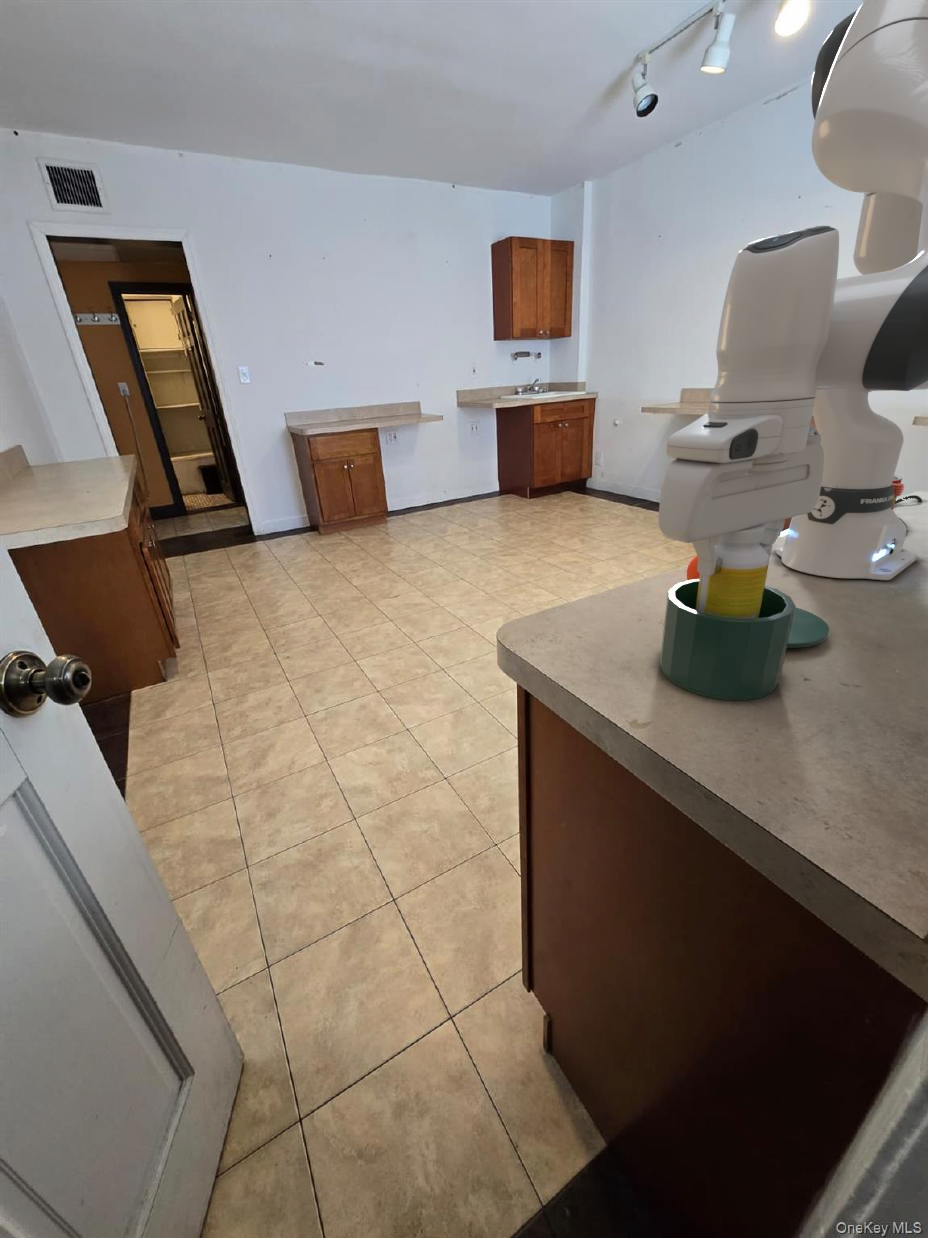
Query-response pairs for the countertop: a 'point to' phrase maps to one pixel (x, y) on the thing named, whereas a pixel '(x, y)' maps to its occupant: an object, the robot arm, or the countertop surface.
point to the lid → (806, 629)
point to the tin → (724, 646)
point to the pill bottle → (736, 576)
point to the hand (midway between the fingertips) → (733, 566)
